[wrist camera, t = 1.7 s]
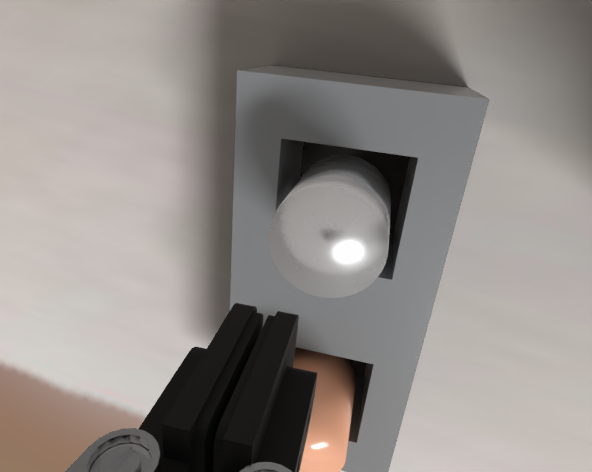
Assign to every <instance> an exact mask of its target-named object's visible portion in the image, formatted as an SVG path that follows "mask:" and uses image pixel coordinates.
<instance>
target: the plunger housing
mask: <svg viewBox="0 0 592 472" xmlns="http://www.w3.org/2000/svg"><path fill="white" fill-rule="evenodd" d="M488 102H489V99H488V98H486V97H484V96H482V95H481V94H479V93H477V92H476V91H474V90H472V89H470V88H469V87H460V86H451V85H443V84H434V83H425V82H416V81H407V80H398V79H389V78H380V77H372V76H363V75H354V74H345V73H336V72H327V71H318V70H309V69H301V68H292V67H283V66H274V65H271V66H264V67H256V68H249V69H242V70H237V88H236V120H235V153H234V186H233V218H232V251H231V284H230V310H231V308H232V307H233V305H234V304H235V303H240V304H245V305H250V306H255V307H257V313H261V314H263V326H264V324H265V321H266V319H267V317H268V315H272V316H275V315H276V313H277V312H278V311H281V312H286V313H291V314H296V315H298V316H299V320H298V329H297V338H296V347H297V348H302V349H306V350H311V351H315V352H320V353H324V354H329V355H333V356H338V357H342V358H347V359H352V360H356V361H361V362H365V363H367V365H366V370H365V375H364V377H360V376H356V375H355V376H356V386H355V393H354V401H353V408H352V416H351V424H350V431H349V439H348V446H347V454H346V461H345V464H344V466H343V468H342V469H341V470H343V471H346V472H388V470H389V467H390V463H391V459H392V456H393V452H394V448H395V445H396V441H397V437H398V434H399V430H400V426H401V423H402V419H403V415H404V411H405V408H406V404H407V400H408V397H409V393H410V389H411V386H412V382H413V378H414V375H415V371H416V367H417V364H418V360H419V356H420V353H421V349H422V345H423V342H424V338H425V334H426V331H427V327H428V323H429V319H430V316H431V312H432V308H433V305H434V301H435V297H436V294H437V290H438V286H439V283H440V279H441V275H442V272H443V268H444V264H445V261H446V257H447V253H448V250H449V246H450V242H451V238H452V235H453V231H454V227H455V224H456V220H457V216H458V213H459V209H460V205H461V202H462V198H463V194H464V191H465V187H466V183H467V180H468V176H469V172H470V169H471V165H472V161H473V158H474V154H475V150H476V146H477V143H478V139H479V135H480V132H481V128H482V124H483V121H484V117H485V113H486V110H487V106H488ZM304 142H310V143H317V144H324V145H331V146H338V147H346V148H353V149H360V150H367V151H374V152H381V153H388V154H395V155H402V156H409V162H408V167H407V172H406V177H405V182H404V186H403V191H402V196H401V201H400V206H399V211H398V215H397V220H396V225H395V230H394V234H389V249H388V257H387V260H386V264H385V266H384V268H383V270H382V272H381V273H380V275H379V276H378V278H377V279H376V280H375V281H374V282H373V283H372V284H371V285H370V286H368V287H367V288H365V289H364V290H362V291H360V292H358V293H356V294H353V295H350V296H346V297H341V298H324V297H318V296H314V295H311V294H308V293H306V292H304V291H302V290H300V289H298V288H296V287H295V286H293V285H292V284H291V283H289V282H288V281H287V280H286V279H285V278H284V277H283V276H282V275H281V274H280V272H279V271H278V270H277V268H276V266H275V265H274V263H273V261H272V258H271V256H270V252H269V248H268V229H269V225H270V222H271V219H272V217H273V215H274V213H275V212H276V210H277V209H278V207H279V206H280V205H281V203H282V202H283V201H284V199H285V198H286V197H287V195H288V194H289V193H290V192H291V190H292V189H293V188H294V186H295V185H296V184H297V182H298V181H299V180H300V175H301V165H302V155H303V145H304Z"/></svg>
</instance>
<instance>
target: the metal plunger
mask: <svg viewBox="0 0 592 472" xmlns="http://www.w3.org/2000/svg"><path fill="white" fill-rule="evenodd" d="M390 214H391V195H390V190H389V187H388V184H387V182H386V180H385V178H384V177H383V175H382V174H381V173H380V172H379V171H378V169H376V168H375V167H374V166H373V165H372V164H370V163H369V162H367V161H365V160H363V159H361V158H358V157H355V156H350V155H335V156H330V157H327V158H324V159H322V160H319V161H318V162H316V163H315V164H313V165H312V166H311V167H310V168H309V169H308V170H307V171H306V172H305V173H304V174H303V176H302V177H301V178H300V180H299V181H298V182H297V184H296V185H295V186H294V188H293V189H292V190H291V192H290V193H289V194H288V195H287V197H286V198H285V199H284V201H283V202H282V203H281V205H280V206H279V207H278V209H277V210H276V212H275V213H274V215H273V217H272V219H271V222H270V225H269V229H268V248H269V252H270V256H271V258H272V261H273V263H274V265H275V266H276V268H277V270H278V271H279V272H280V274H281V275H282V276H283V277H284V278H285V279H286V280H287V281H288V282H289V283H291V284H292V285H293V286H295V287H296V288H298V289H300V290H302V291H304V292H306V293H308V294H311V295H314V296H318V297H324V298H341V297H346V296H350V295H353V294H356V293H358V292H360V291H362V290H364V289H365V288H367V287H368V286H370V285H371V284H372V283H373V282H374V281H375V280H376V279H377V278H378V276H379V275H380V273H381V272H382V270H383V268H384V266H385V264H386V260H387V257H388V249H389V232H390Z"/></svg>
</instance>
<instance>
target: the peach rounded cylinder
mask: <svg viewBox="0 0 592 472" xmlns="http://www.w3.org/2000/svg"><path fill="white" fill-rule="evenodd" d="M293 368H297V369H302V370H307V371H311V372H316V373H318V374H317V382H316V389H315V396H314V402H313V408H312V413H311V419H310V424H309V429H308V433H307V438H306V443H305V447H304V452H303V457H302V462H301V466H300V471H299V472H340V471H341V469H342V468H343V466H344V464H345V461H346V454H347V446H348V439H349V431H350V424H351V416H352V408H353V401H354V393H355V386H356V376H355V372H354V370H353V368H352V366H351V364H350V363H349V362H348V361H347V360H346V358H342V357H338V356H333V355H329V354H324V353H320V352H315V351H311V350H306V349H302V348H297V347H296V348H295V356H294V365H293Z"/></svg>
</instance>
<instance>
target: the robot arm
mask: <svg viewBox="0 0 592 472" xmlns="http://www.w3.org/2000/svg"><path fill="white" fill-rule="evenodd" d="M298 320H299V316H298V315H296V314H291V313H286V312H281V311H278V312H277V313H276V315H275V316H272V315H268V317H267V319H266V321H265V324H264V326H263V314H261V313H257V307H255V306H250V305H245V304H240V303H235V304H234V305H233V307H232V308H231V310H230V312H229V313H228V315H227V317H226V318H225V320H224V322H223V323H222V325H221V327H220V328H219V330H218V332H217V333H216V335H215V337H214V338H213V340H212V342H211V343H210V345H209V346H208V348H207V349H204V348H199V347H194V348H192V349H191V351H190V352H189V353H188V355H187V356H186V358H185V359H184V361H183V362H182V364H181V365H180V367H179V368H178V370H177V371H176V373H175V374H174V376H173V377H172V379H171V380H170V382H169V384H168V385H167V387H166V388H165V390H164V391H163V393H162V394H161V396H160V397H159V399H158V400H157V402H156V403H155V405H154V406H153V408H152V409H151V411H150V412H149V414H148V415H147V417H146V418H145V420H144V422H143V423H142V425H141V426H140V428H139V429H135V428H131V429H130V428H129V429H120V430H117V431H113V432H110V433H108V434H106V435H104V436H102V437H101V438H99V439H98V440H96V441H95V442H94V443H93V444H92V445H90V446H89V447H88V448H87V449H86V450H85V451H84V452H83V453H82V455H81V456H80V457H79V458H78V459H77V460H76V461H75V462H74V463H73V464H72V465H71V466H70V467H69V468H68V469H67V470H66V471H65V472H299V471H300V466H301V462H302V457H303V452H304V447H305V443H306V438H307V433H308V429H309V424H310V419H311V413H312V408H313V402H314V396H315V389H316V382H317V374H318V373H316V372H311V371H307V370H302V369H297V368H293V365H294V356H295V347H296V338H297V329H298Z"/></svg>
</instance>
